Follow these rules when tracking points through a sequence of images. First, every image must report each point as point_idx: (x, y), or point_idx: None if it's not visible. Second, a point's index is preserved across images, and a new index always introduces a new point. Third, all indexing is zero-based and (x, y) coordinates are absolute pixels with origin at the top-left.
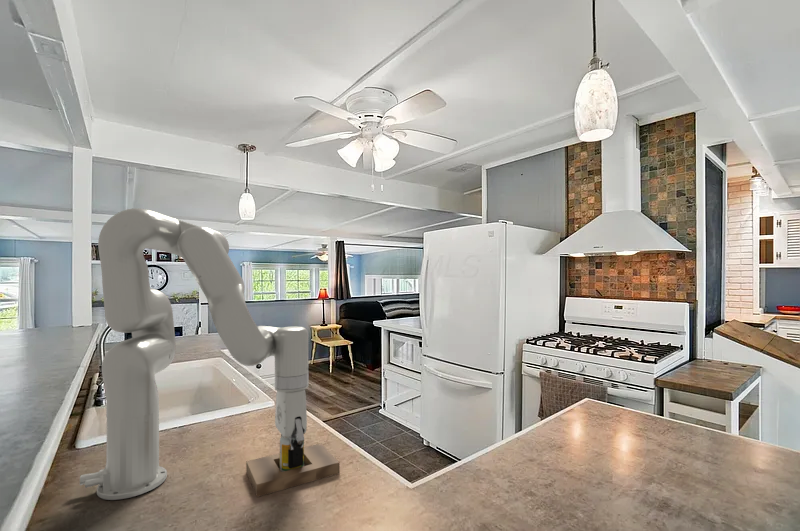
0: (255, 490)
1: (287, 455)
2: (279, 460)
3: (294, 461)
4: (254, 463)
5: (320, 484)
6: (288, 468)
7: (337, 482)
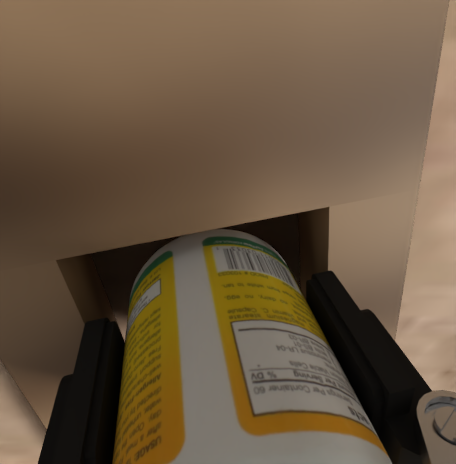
0: None
1: (125, 384)
2: (320, 240)
3: (61, 399)
4: (349, 23)
5: (17, 396)
6: (133, 302)
7: (22, 450)
